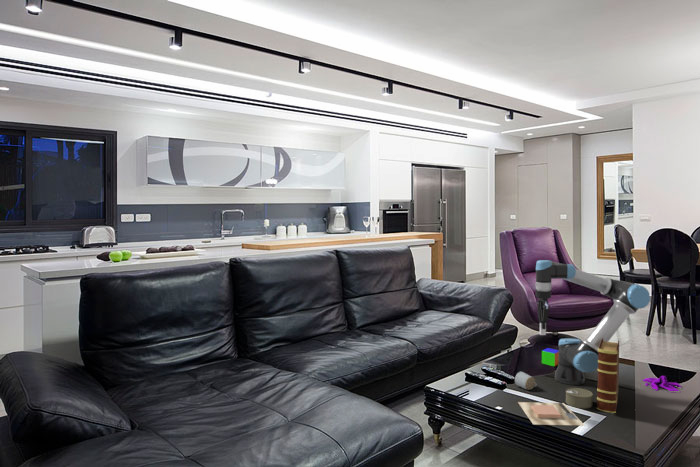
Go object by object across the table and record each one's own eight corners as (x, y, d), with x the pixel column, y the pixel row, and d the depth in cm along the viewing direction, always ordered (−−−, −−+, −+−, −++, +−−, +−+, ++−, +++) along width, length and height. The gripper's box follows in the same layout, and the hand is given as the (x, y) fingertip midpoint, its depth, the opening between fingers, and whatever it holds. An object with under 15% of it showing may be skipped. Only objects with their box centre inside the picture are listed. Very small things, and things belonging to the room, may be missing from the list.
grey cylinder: (526, 391, 251) (526, 377, 251) (514, 386, 258) (514, 372, 258) (540, 388, 256) (541, 374, 256) (528, 383, 263) (528, 369, 263)
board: (563, 405, 233) (563, 403, 233) (584, 428, 210) (584, 425, 210) (517, 404, 235) (517, 402, 235) (533, 427, 211) (533, 424, 211)
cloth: (643, 377, 272) (644, 367, 272) (683, 385, 261) (684, 374, 260) (637, 389, 255) (638, 378, 254) (680, 398, 243) (680, 386, 243)
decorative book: (615, 416, 222) (617, 351, 220) (596, 412, 226) (597, 349, 224) (618, 399, 241) (619, 340, 239) (600, 396, 245) (601, 337, 243)
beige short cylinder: (596, 412, 226) (596, 397, 226) (568, 410, 228) (569, 396, 228) (588, 401, 238) (588, 388, 238) (562, 400, 240) (562, 386, 240)
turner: (564, 404, 231) (564, 403, 231) (577, 419, 216) (577, 417, 215) (556, 404, 232) (556, 402, 232) (569, 419, 216) (569, 417, 216)
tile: (553, 405, 226) (560, 414, 216) (552, 409, 226) (560, 418, 216) (531, 405, 227) (538, 414, 217) (531, 409, 227) (538, 418, 217)
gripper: (532, 287, 257) (531, 331, 259) (540, 292, 245) (539, 338, 246) (546, 287, 257) (545, 331, 258) (555, 292, 244) (554, 338, 245)
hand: (542, 334), depth 252 cm, fingers closed
